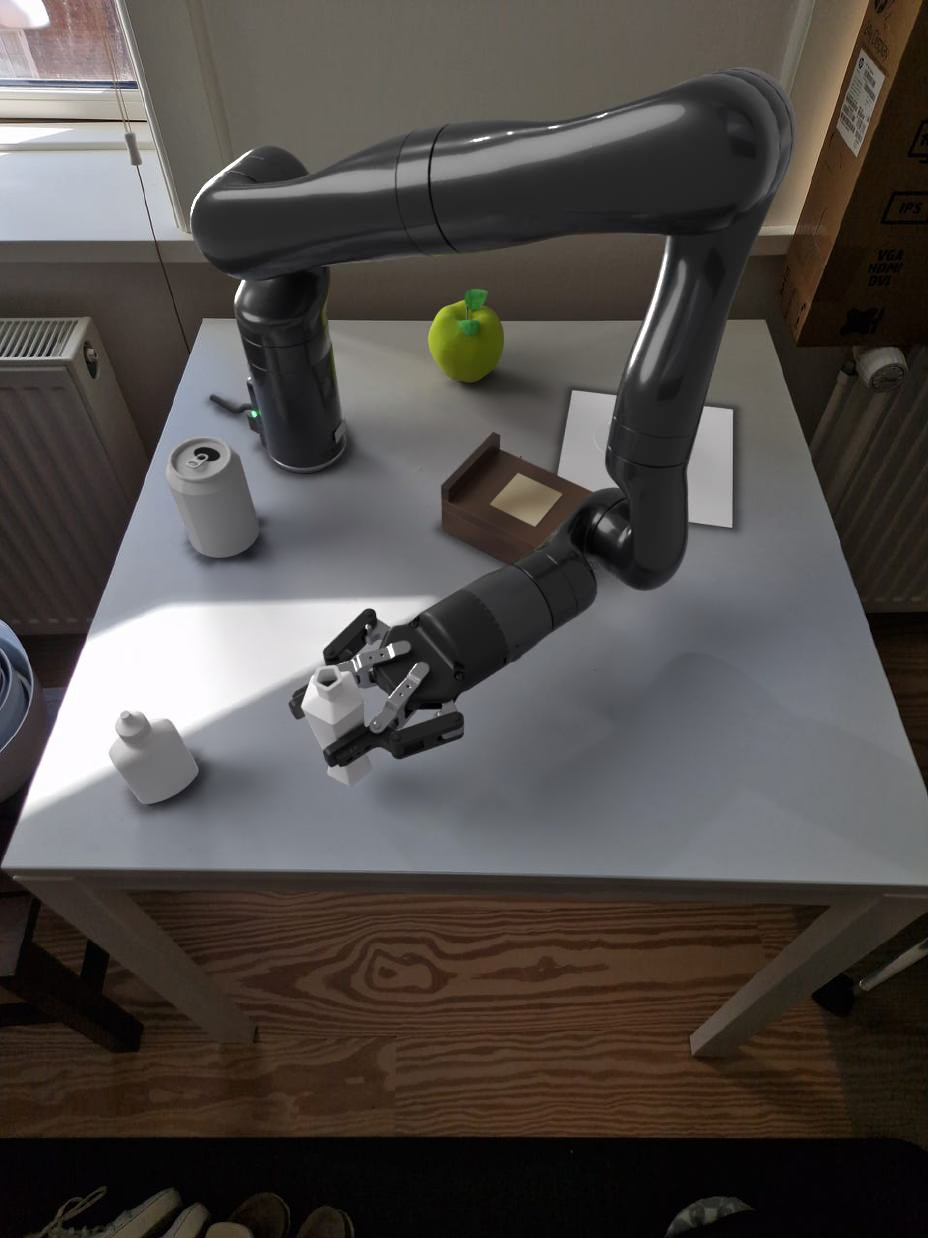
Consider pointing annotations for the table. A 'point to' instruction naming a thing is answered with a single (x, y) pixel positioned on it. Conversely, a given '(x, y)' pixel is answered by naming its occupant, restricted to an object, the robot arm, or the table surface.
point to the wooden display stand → (505, 502)
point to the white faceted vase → (336, 716)
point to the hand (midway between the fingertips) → (310, 734)
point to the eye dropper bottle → (151, 757)
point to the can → (212, 496)
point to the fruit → (467, 338)
